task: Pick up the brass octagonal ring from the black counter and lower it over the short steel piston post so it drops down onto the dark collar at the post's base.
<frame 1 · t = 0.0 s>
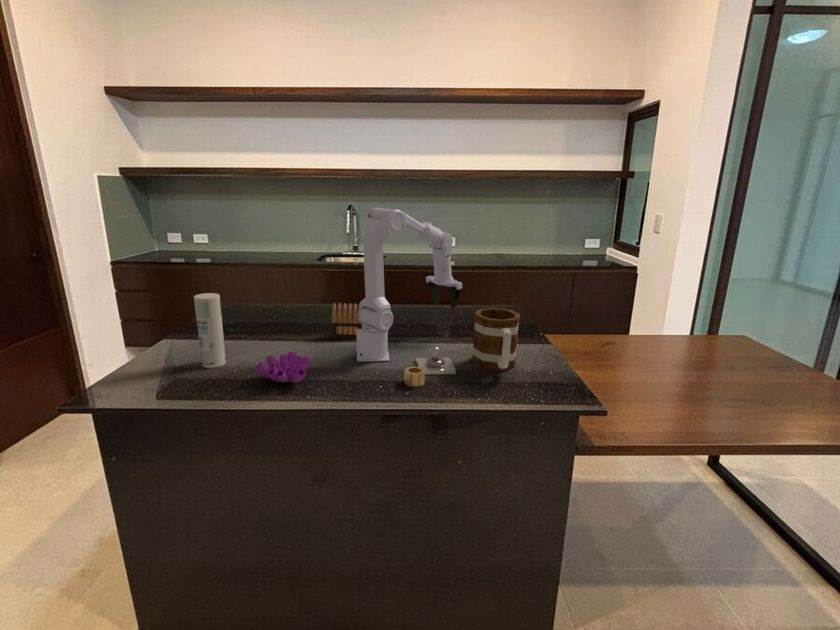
hand: (445, 305, 161), 11 cm above the countertop, fingers open, 7 cm apart
piston stand: (435, 367, 135), on the countertop
spray can: (214, 364, 134), on the countertop
ammunition clip: (348, 337, 159), on the countertop
mug: (496, 366, 137), on the countertop
purple tube coral: (286, 380, 125), on the countertop
brass ring: (414, 382, 125), on the countertop
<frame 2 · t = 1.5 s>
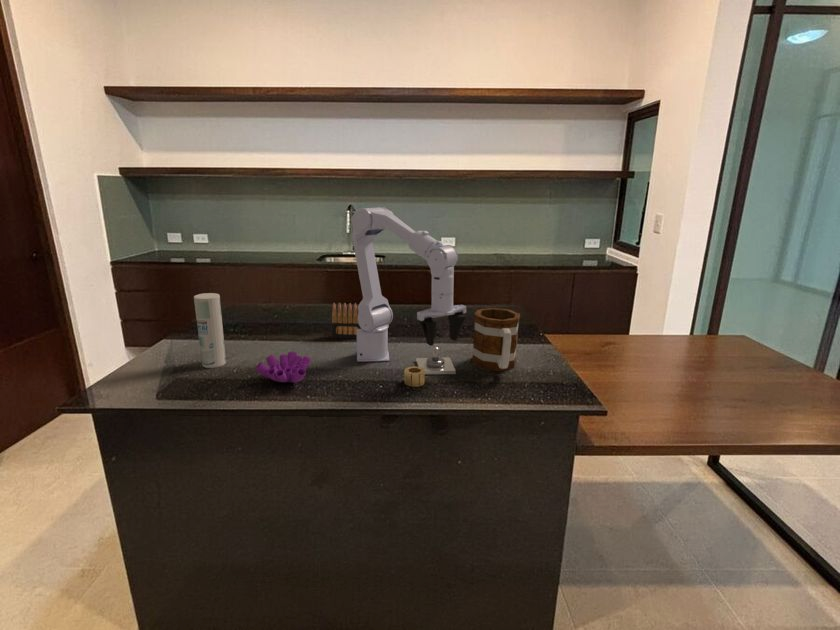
hand: (441, 342, 126), 10 cm above the countertop, fingers open, 7 cm apart
nothing on the countertop moved.
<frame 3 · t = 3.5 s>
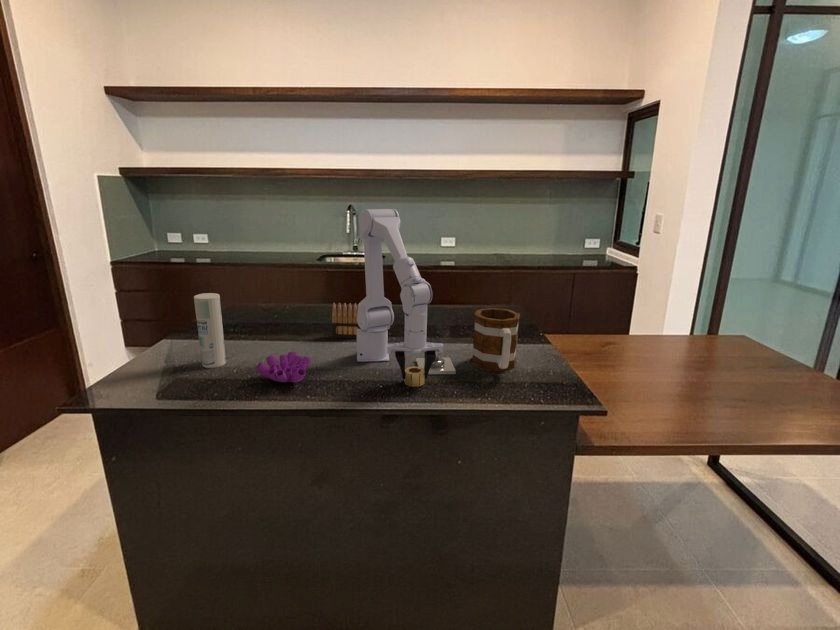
hand: (414, 377, 125), 1 cm above the countertop, fingers closed on brass ring, 5 cm apart
brass ring: (414, 382, 125), on the countertop, touching gripper
everything else where it was.
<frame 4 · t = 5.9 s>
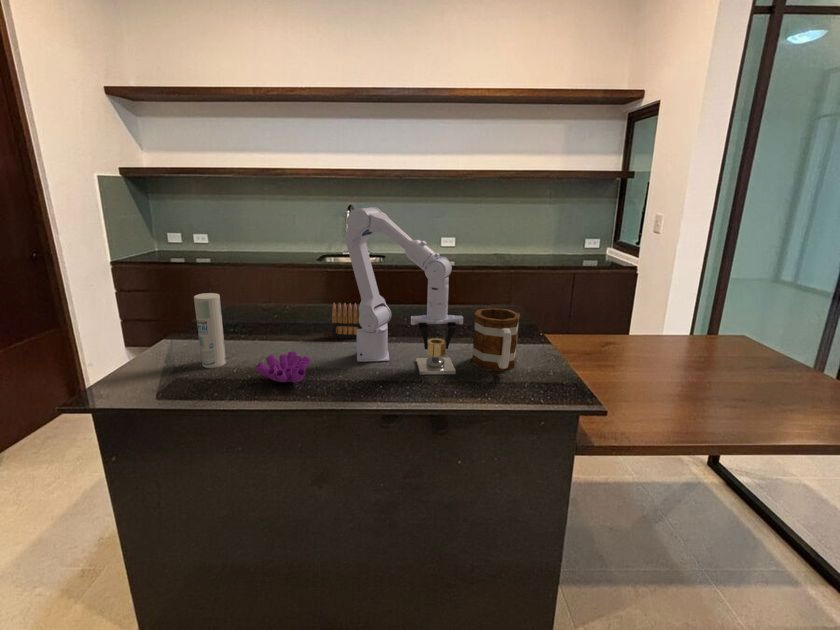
hand: (436, 348, 134), 6 cm above the countertop, fingers closed on brass ring, 5 cm apart
brass ring: (436, 353, 134), point 4 cm above the countertop, touching gripper
everything else where it was.
when the fingers open (5 cm above the countertop, at t = 6.6 s): brass ring drops 1 cm, resting on piston stand.
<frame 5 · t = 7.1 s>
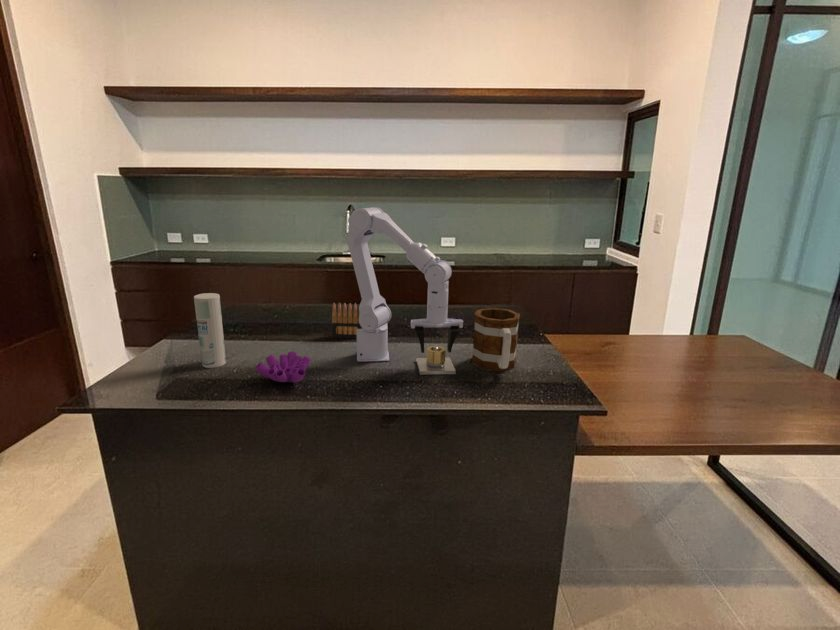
hand: (435, 351, 134), 5 cm above the countertop, fingers open, 7 cm apart
brass ring: (435, 360, 134), point 2 cm above the countertop, touching piston stand
everything else where it was.
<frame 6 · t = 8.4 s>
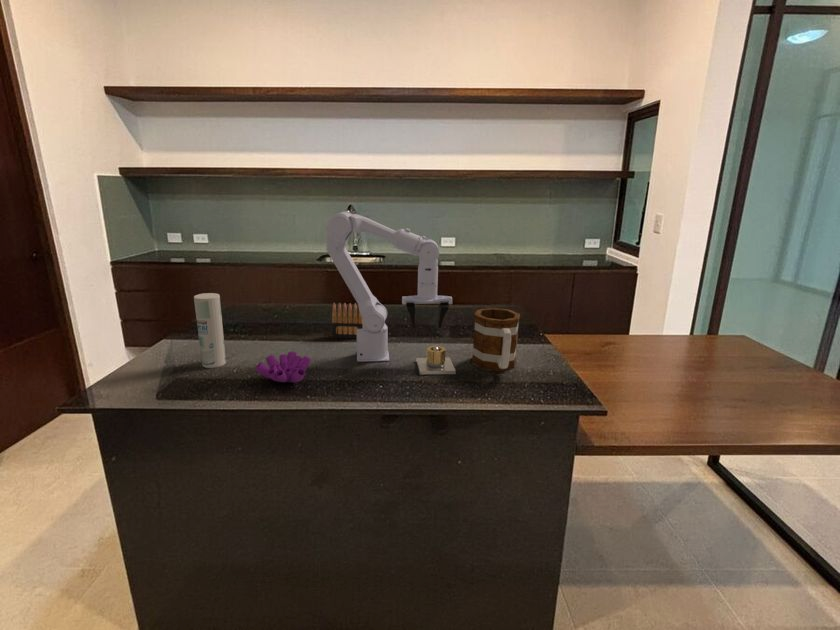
hand: (426, 327, 139), 10 cm above the countertop, fingers open, 7 cm apart
nothing on the countertop moved.
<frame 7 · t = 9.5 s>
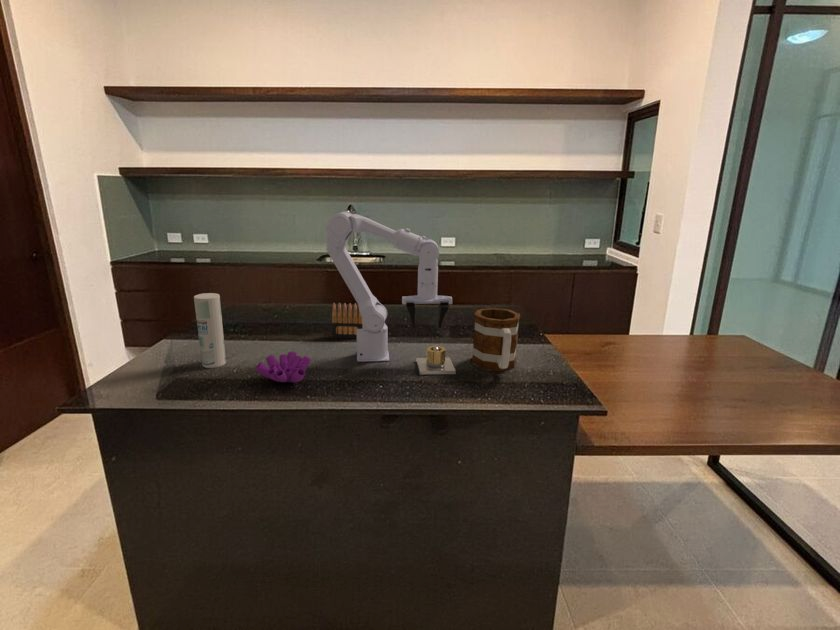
hand: (426, 327, 139), 10 cm above the countertop, fingers open, 7 cm apart
nothing on the countertop moved.
at the end: brass ring 0.1 cm off-centre on the piston stand, point 2.2 cm above the piston stand's base; brass ring tilted 0°; the gripper is holding nothing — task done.
